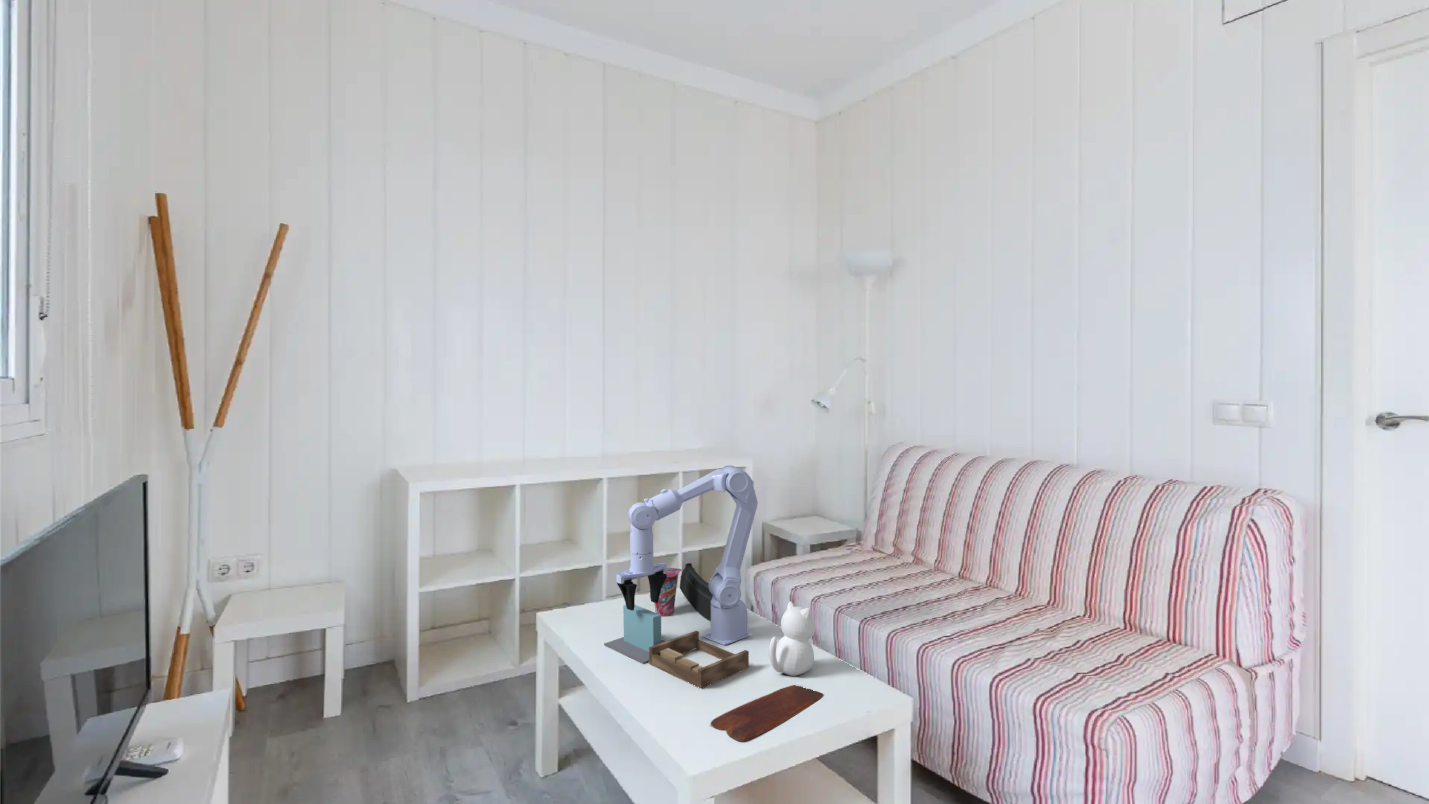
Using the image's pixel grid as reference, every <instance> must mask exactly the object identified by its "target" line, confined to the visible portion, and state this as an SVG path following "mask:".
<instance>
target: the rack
mask: <svg viewBox="0 0 1429 804" xmlns="http://www.w3.org/2000/svg"><path fill="white" fill-rule="evenodd" d="M665 641H666V642H663V643H660V644H657V645H654V646H652V647H649V662H648V664H649V665H650V666H652V667H655V668H657V669H659V670H661V671H663V672H666V673H667V674H670V675H671V676H673V677H675V678H677V679H679V680H682V681H684V682H686V683H688V682H689V683H688V684H690V685H692V684H693V685H692V686H694V685H695V686H694V687H696V688H698V687H699V688H698V689H700V688H702V689H704V688H706V687H709V686H711V685H713V684H715V682H716V683H718V682H720V681H723V680H725V679H727V678H730V677H732V676H735V675H736V674H739V673H741V672H743V671H745V670H748V669H749V667H750V663H749V662H750V659H749V658H750V657H749V654H750V652H749V650H747V649H744V650H742V651H739V652H736V653H733V652H732V651H728V650H726V649H723V648H721V647H718V646H716V645H714V644H711V643H709V642H706V641H703V640H701V639H700V631H699V630H694V631H691V632H688V633H686V634H683V635H680V636H677V637H675V638H672V639H669V640H665ZM667 648H669V649H671V650H674V651H676V652H678V653H680V654H683V655H684V654H686V653H688V652H691V651H693V650H698V651H701V652H704V653H705V654H708V655H710V656H713V657H716V658H718V659H720V660H717V661H715V662H713V663H710V664H708V665H705V666H702V668H700V669H698V673H696V672H694V671H692V670H690V669H688V668H685V667H683V666H681V665H679V664H677V663H675V662H672V661H670V660H668V659H666V658H664V657H661V656H660V651H661V650H664V649H667ZM729 676H730V677H729ZM722 679H723V680H722ZM710 684H711V685H710ZM708 685H709V686H708Z"/></svg>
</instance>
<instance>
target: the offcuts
mask: <svg viewBox="0 0 1429 804" xmlns="http://www.w3.org/2000/svg"><path fill="white" fill-rule="evenodd" d="M660 656H661V657H664V658H666V659H668V660H670V661H672V662H675V663H677V664H679V665H681V666H683V667H685V668H688V669H690V670H692V671H694V672H696V673H698V669H700V668H702V667H703V666H702V665H700V663H698V662H696V661H693V660H691V659H690V658H687V657H684V653H683V654H680V653H678V652H676V651H674V650H671V649H669V648H667V649H664V650H661V651H660Z"/></svg>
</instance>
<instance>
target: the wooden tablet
mask: <svg viewBox="0 0 1429 804" xmlns="http://www.w3.org/2000/svg"><path fill="white" fill-rule="evenodd" d="M796 685H797V684H791V685H789V686H785V687H782V688H779V689H778V690H775V691H773V692H771V693H768V694H766V695H763V696H761V697H758V698H755V699H754V700H751V701H749V702H746V703H744V704H742V705H739V706H737V707H735V708H732V709H731V710H729V711H727V712H725V713H723V714H721V715H719V716H717V717H716V718H714V719H712V720H711V722H710V727H711V728H714V729H715V730H718V731H721V732H722V731H724V732H726V734H727V736H728V738H729V737H730V738H731V739H733V740H734V741H736V742H738V743H745V742H747V741H749V740H752V739H754V738H757V737H758V736H761V735H763V734H764V733H766V732H769V731H770V730H772V729H774V728H776V727H777V726H780V725H781V724H782V723H785V722H786V721H787V720H789V719H791V718H792V717H795V716H796V715H798V714H800V712H802V711H804V710H806V709H808V708H809V707H810V705H811V706H813V704H815V703H817V702H818V701H819V700H821V699H822V698H823V697H824V693H822V692H820V691H817V690H815V691H813V690H814V689H811V688H807V689H806V687H805V688H803V687H804V686H802V685H797V686H796ZM814 702H815V703H814Z"/></svg>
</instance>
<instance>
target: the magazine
mask: <svg viewBox="0 0 1429 804" xmlns="http://www.w3.org/2000/svg"><path fill="white" fill-rule="evenodd" d="M679 589H680V591H681V593H682V594H683V596H684V597H685V599H686V600H687V601H688V603H689V604H690V606H691V607H692V608H693V609H694V610H695V611H696V613H698V614H699V615H700V616H701V617H702V618H704V619H706V620H707V621H709V622H711V600H712V597H713V595H712V594H711V592H710V590H709V582H707V581H706V580H705V579H703V578H702V577H701V576H700V575H699V573H698V572H697V571H696V570H695V568H694V566H693V564H692V563H691V562H688V563H685V565H684V569H682V571H681V574H680V581H679Z"/></svg>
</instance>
